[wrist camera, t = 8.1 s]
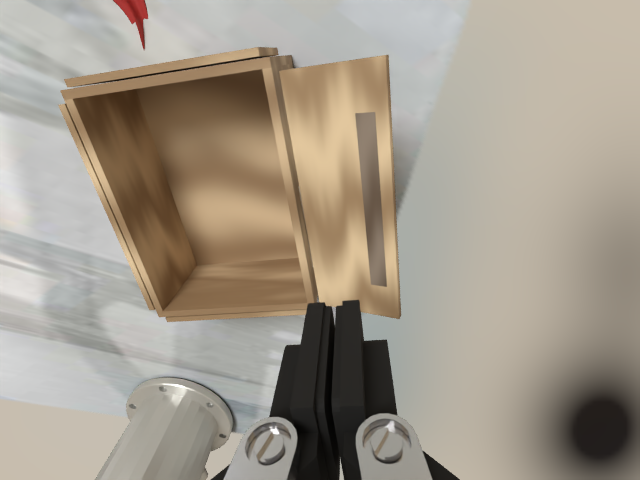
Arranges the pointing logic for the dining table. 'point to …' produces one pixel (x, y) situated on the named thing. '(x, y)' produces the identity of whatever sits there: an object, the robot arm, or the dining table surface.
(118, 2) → the cayenne pepper
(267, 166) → the wooden box
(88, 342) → the dining table surface
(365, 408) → the robot arm
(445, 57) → the dining table surface
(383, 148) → the flap
